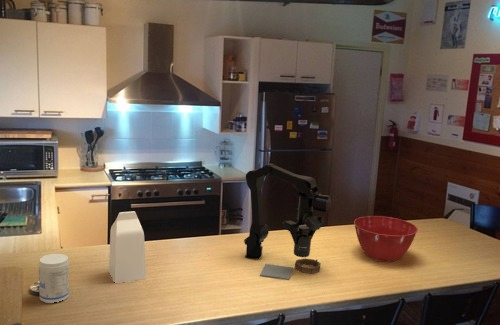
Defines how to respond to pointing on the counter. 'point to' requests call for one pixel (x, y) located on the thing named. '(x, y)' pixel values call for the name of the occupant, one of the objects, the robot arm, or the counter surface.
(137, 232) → the milk
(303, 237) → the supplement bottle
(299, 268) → the walnut collar
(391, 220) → the mixing bowl
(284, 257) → the counter surface
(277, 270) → the rubber mat
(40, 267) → the supplement tub
